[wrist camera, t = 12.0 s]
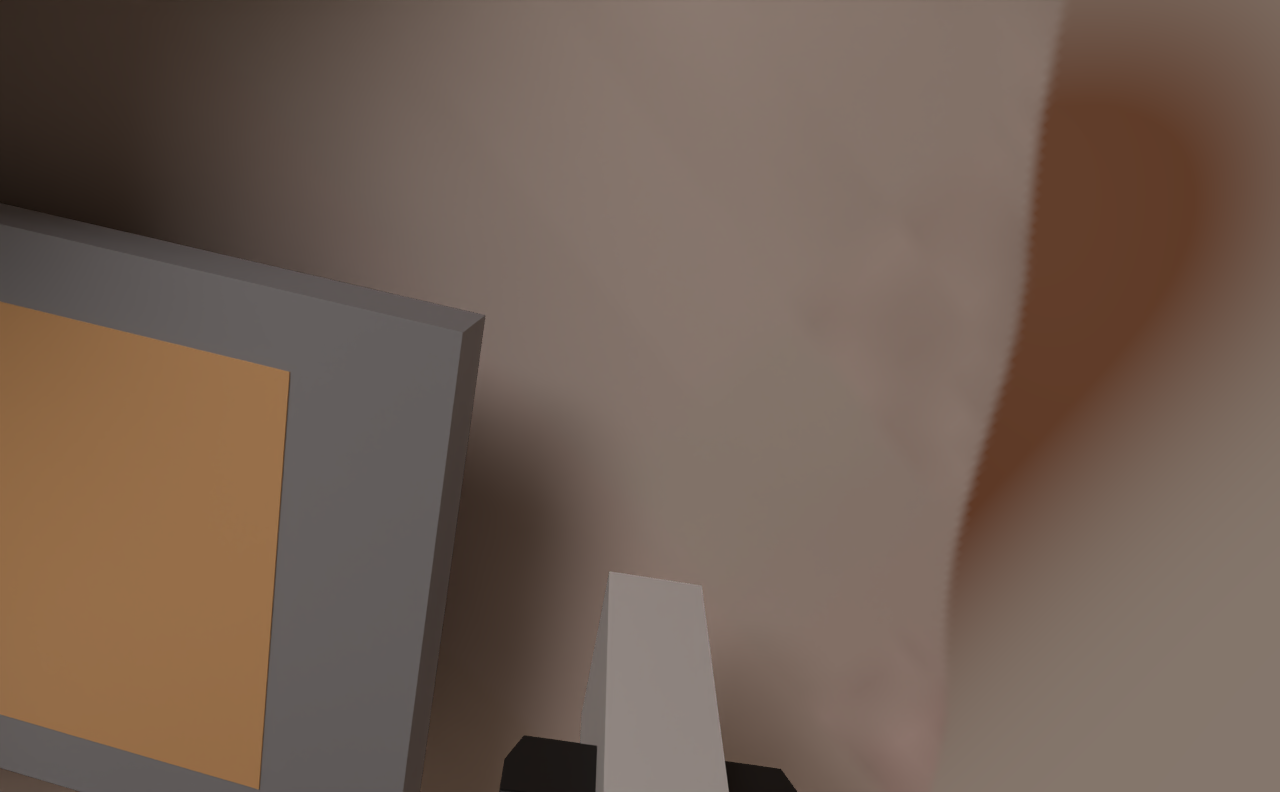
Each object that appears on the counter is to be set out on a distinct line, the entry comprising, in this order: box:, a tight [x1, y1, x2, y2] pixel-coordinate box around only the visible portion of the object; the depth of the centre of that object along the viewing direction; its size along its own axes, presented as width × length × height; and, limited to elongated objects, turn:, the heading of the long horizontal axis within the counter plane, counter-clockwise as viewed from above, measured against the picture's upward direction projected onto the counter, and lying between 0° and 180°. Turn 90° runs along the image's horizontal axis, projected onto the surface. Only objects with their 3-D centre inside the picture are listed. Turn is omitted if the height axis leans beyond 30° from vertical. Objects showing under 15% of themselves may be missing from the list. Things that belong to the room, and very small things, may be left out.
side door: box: [0, 203, 485, 792], centre depth 18 cm, size 10×2×13 cm
